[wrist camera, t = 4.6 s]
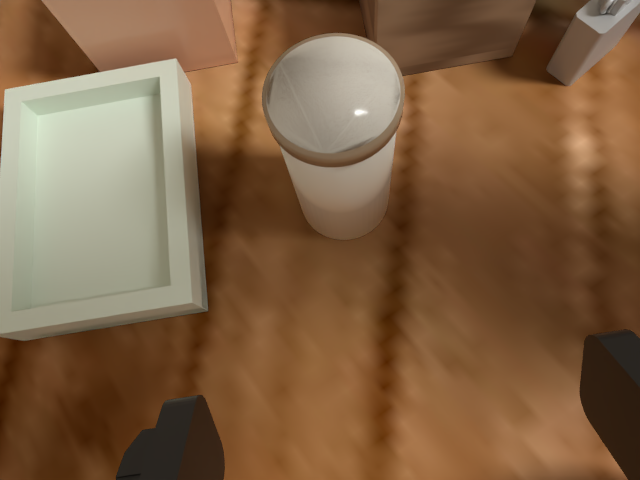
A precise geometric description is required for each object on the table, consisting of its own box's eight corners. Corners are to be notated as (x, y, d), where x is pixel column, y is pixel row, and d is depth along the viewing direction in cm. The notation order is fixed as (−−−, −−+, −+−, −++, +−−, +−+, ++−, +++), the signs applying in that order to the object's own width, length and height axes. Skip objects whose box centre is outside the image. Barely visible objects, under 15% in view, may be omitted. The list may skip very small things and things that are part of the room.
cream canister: (382, 148, 28) (389, 21, 18) (399, 234, 26) (418, 143, 17) (292, 164, 28) (255, 46, 19) (304, 249, 27) (270, 168, 17)
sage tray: (191, 84, 30) (176, 58, 28) (208, 310, 26) (192, 302, 24) (33, 113, 31) (4, 89, 28) (24, 340, 26) (-10, 335, 24)
